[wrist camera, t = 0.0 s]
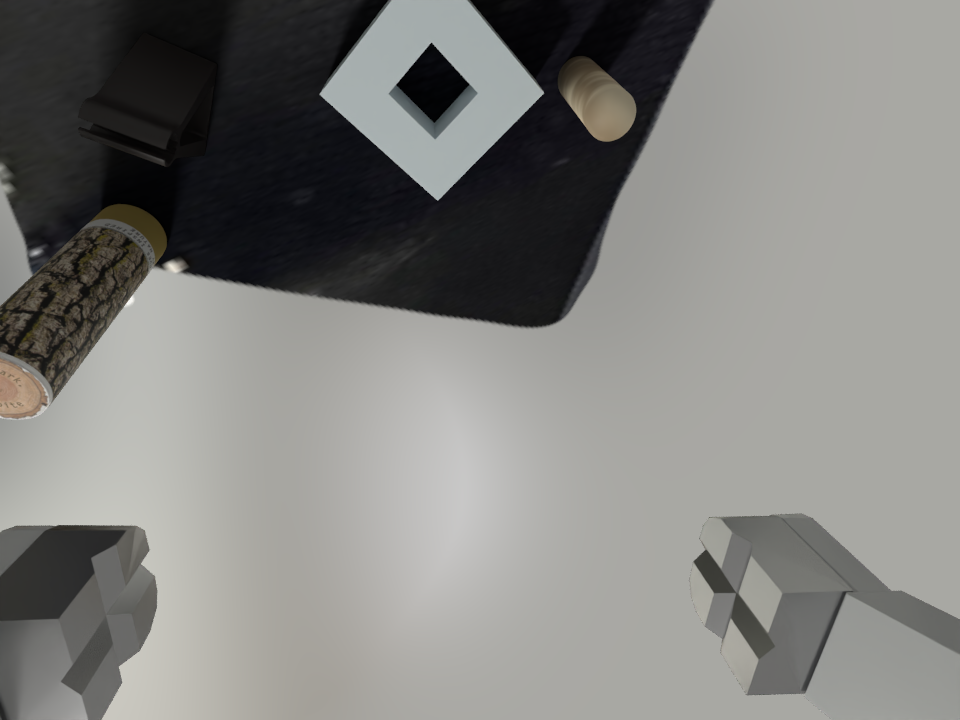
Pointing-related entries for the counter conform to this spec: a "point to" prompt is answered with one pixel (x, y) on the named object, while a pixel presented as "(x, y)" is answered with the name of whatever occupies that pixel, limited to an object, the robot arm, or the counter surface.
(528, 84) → the hole board
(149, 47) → the phone stand
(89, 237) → the bark-patterned tube
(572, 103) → the tall pin
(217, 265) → the counter surface
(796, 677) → the robot arm
